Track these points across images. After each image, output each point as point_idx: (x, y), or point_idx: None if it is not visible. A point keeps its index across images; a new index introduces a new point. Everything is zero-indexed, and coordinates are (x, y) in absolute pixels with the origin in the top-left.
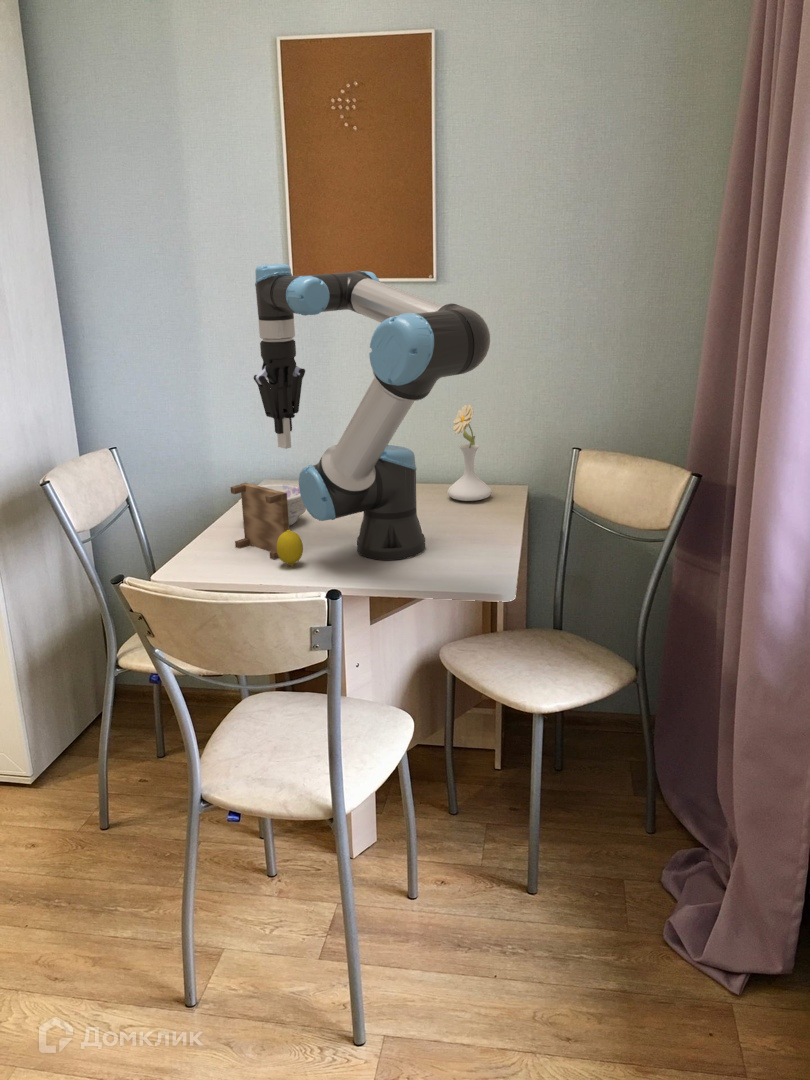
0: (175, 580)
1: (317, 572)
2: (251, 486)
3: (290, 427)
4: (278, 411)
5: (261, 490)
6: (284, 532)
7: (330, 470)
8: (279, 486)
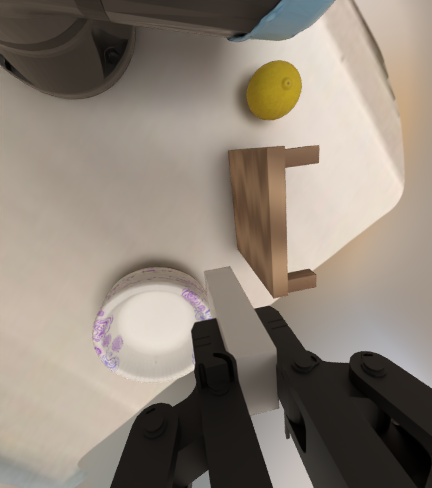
0: (394, 176)
1: None
2: (284, 263)
3: (202, 334)
4: (346, 402)
5: (285, 224)
6: (292, 90)
7: None
8: (122, 368)
